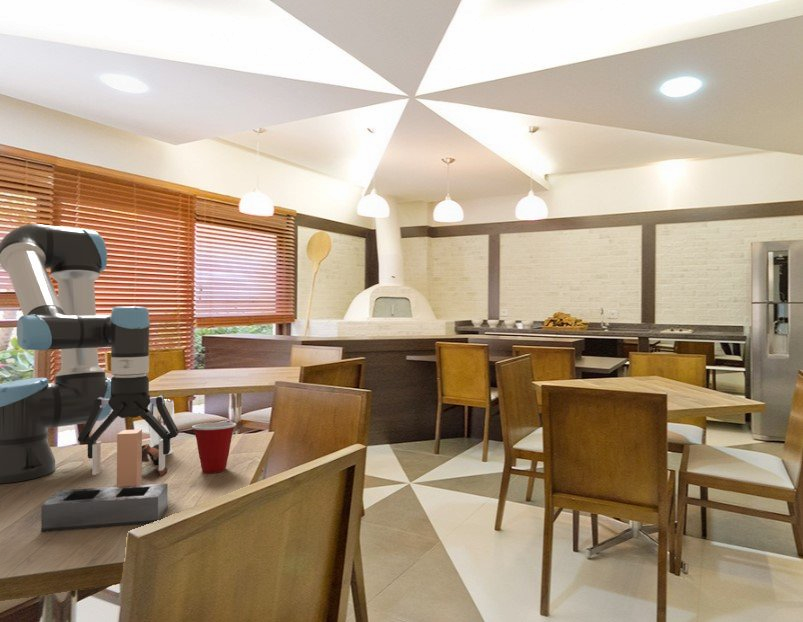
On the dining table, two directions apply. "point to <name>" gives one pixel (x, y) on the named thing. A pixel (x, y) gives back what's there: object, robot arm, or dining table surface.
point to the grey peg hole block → (104, 507)
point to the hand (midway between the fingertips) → (129, 470)
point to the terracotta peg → (129, 458)
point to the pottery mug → (152, 456)
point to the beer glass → (153, 435)
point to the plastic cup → (214, 445)
